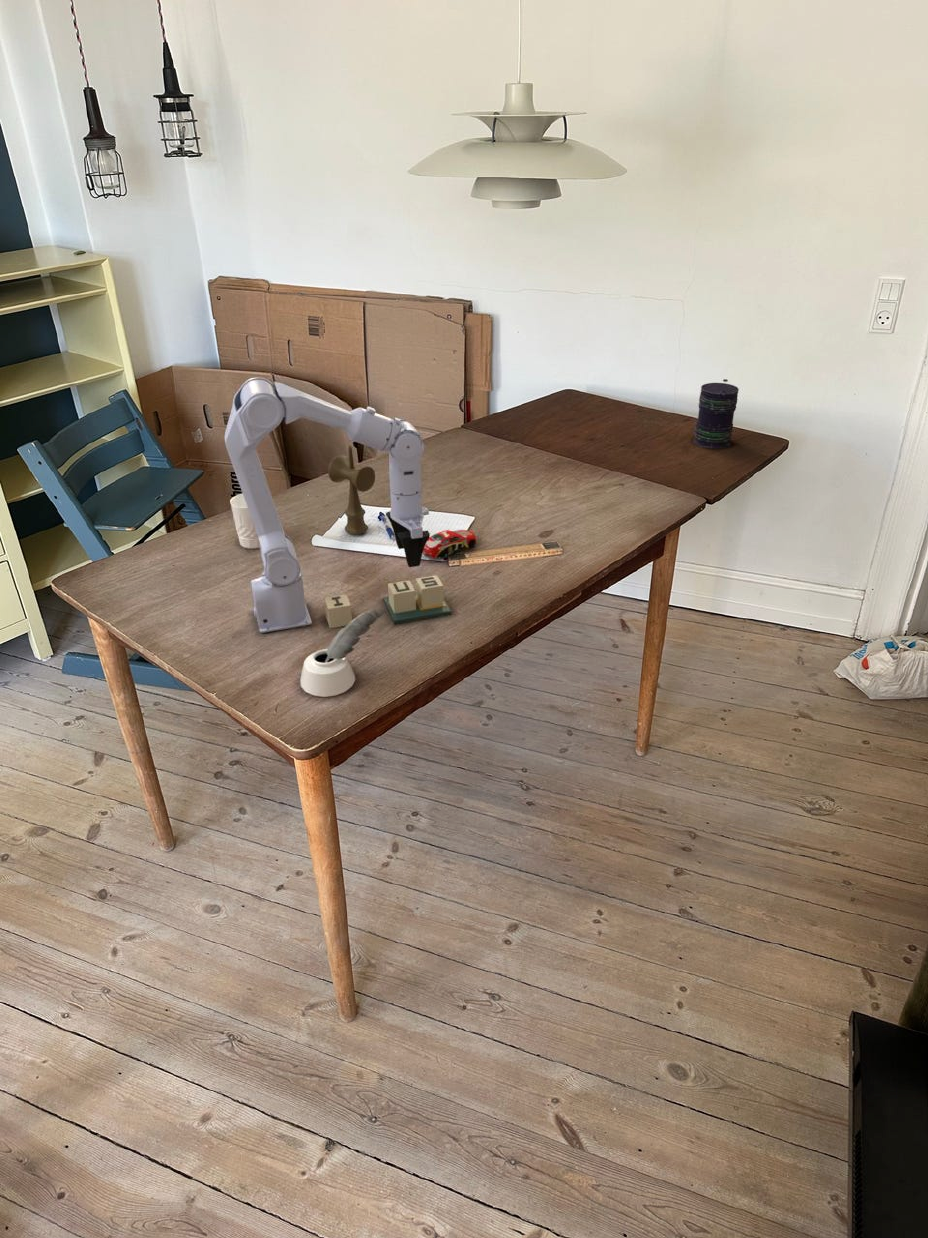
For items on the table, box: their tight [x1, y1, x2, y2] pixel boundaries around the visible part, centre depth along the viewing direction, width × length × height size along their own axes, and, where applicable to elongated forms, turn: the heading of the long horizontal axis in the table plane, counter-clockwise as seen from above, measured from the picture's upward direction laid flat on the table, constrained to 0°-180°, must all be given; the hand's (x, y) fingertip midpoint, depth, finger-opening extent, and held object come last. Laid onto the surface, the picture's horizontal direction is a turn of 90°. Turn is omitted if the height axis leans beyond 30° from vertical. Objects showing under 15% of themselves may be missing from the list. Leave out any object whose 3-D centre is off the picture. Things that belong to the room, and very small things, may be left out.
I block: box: [323, 594, 353, 629], centre depth 163 cm, size 4×4×4 cm
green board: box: [382, 591, 452, 625], centre depth 168 cm, size 11×9×1 cm
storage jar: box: [693, 378, 740, 449], centre depth 237 cm, size 10×10×18 cm
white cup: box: [229, 493, 260, 549], centre depth 190 cm, size 8×8×10 cm
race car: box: [422, 529, 477, 559], centre depth 188 cm, size 13×5×4 cm, turn 127°
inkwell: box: [299, 608, 389, 698], centre depth 148 cm, size 9×18×10 cm, turn 135°
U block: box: [387, 580, 416, 614], centre depth 166 cm, size 4×4×4 cm
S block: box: [415, 575, 444, 608], centre depth 167 cm, size 4×4×4 cm
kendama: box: [327, 445, 376, 536], centre depth 191 cm, size 6×10×20 cm, turn 47°
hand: (408, 556), depth 166 cm, fingers open, 7 cm apart
